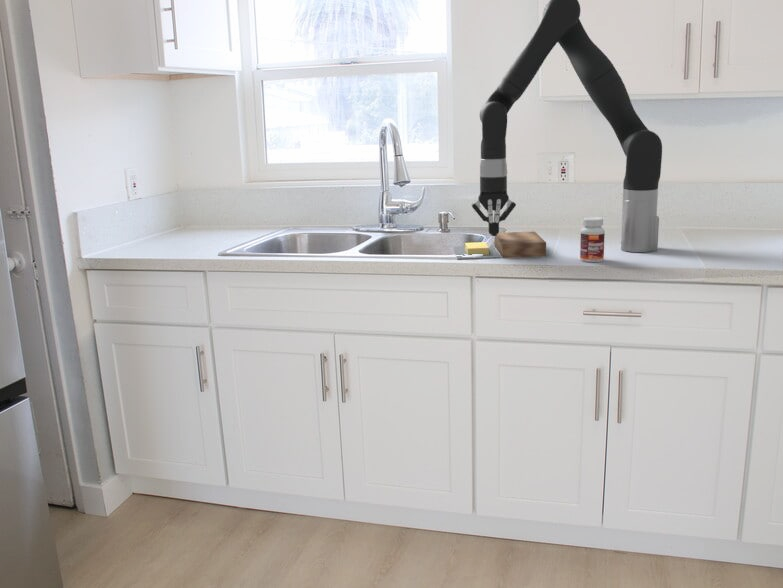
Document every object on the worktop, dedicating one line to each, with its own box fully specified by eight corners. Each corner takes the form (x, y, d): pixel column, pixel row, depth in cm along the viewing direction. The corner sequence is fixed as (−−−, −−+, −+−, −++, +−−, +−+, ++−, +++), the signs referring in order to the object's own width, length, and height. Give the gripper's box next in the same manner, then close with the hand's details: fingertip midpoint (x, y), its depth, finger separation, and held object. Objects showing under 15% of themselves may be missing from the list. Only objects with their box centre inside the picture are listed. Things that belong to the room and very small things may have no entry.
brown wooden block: (534, 244, 225) (534, 231, 224) (545, 256, 208) (546, 242, 207) (494, 245, 225) (494, 232, 224) (502, 257, 208) (502, 243, 207)
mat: (492, 246, 225) (492, 245, 225) (500, 257, 208) (500, 256, 208) (453, 247, 225) (453, 246, 225) (457, 259, 208) (457, 258, 208)
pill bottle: (588, 263, 197) (590, 221, 194) (575, 259, 202) (576, 218, 200) (608, 261, 199) (609, 218, 196) (594, 257, 204) (595, 216, 202)
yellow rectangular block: (464, 242, 219) (465, 249, 220) (467, 248, 211) (467, 255, 211) (485, 242, 219) (485, 248, 220) (488, 247, 211) (489, 254, 211)
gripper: (514, 172, 214) (514, 232, 218) (468, 174, 214) (469, 234, 218) (519, 175, 206) (518, 237, 211) (471, 176, 206) (471, 238, 211)
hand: (493, 235), depth 214 cm, fingers closed
